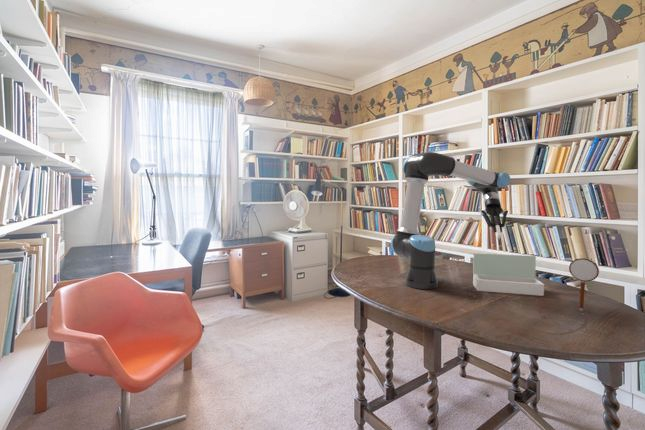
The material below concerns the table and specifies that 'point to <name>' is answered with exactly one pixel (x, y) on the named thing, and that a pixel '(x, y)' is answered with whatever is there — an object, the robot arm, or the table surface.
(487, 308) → the table surface
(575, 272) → the magnifying glass
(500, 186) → the robot arm
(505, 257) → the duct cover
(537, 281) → the cable duct
